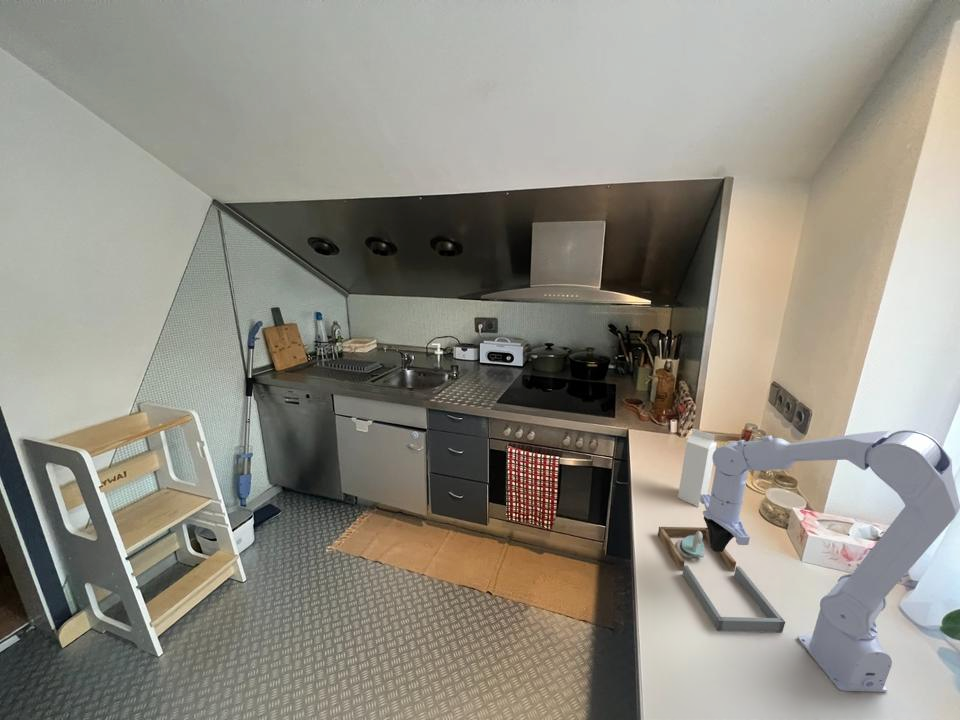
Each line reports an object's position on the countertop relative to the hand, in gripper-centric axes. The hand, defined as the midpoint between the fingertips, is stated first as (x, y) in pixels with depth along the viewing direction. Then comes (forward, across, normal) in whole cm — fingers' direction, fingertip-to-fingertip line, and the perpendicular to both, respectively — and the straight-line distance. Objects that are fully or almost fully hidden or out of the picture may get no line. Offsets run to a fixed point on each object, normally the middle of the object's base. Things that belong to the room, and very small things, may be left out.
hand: (716, 549), depth 86 cm
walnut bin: (+7, -8, 0) cm, 11 cm away
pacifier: (+8, -8, -1) cm, 11 cm away
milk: (+7, -30, +11) cm, 32 cm away
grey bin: (+7, +6, 0) cm, 10 cm away
